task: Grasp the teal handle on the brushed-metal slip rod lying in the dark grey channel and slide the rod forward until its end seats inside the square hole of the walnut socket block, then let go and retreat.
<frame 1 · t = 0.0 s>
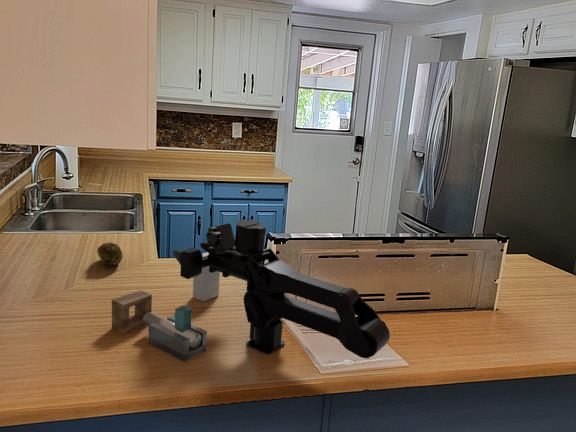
hand: (187, 248, 120), 17 cm above the countertop, tool horizontal, fingers open, 9 cm apart
socket block: (131, 325, 114), on the countertop
potato: (110, 265, 150), on the countertop
channel: (177, 347, 106), on the countertop
skincare box: (205, 297, 133), on the countertop
slip rod: (171, 319, 106), point 6 cm above the countertop, slide at 0.0 cm
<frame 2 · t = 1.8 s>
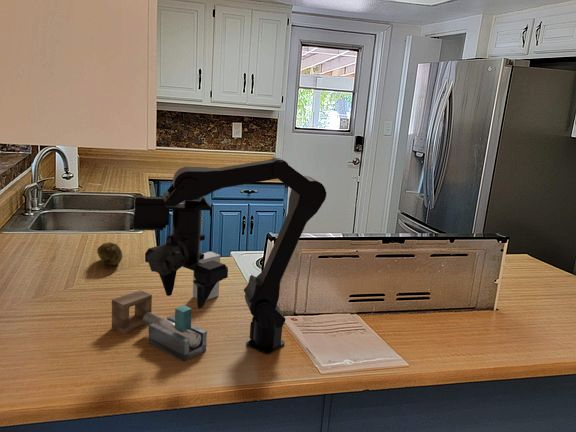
hand: (184, 301, 102), 11 cm above the countertop, tool pointing down, fingers open, 9 cm apart
nothing on the countertop moved.
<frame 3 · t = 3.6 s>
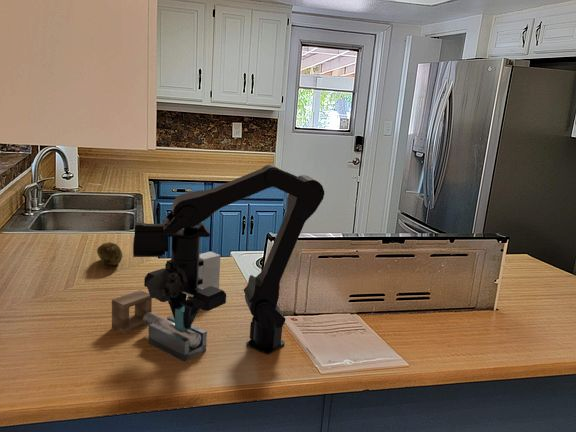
hand: (182, 325, 104), 6 cm above the countertop, tool pointing down, fingers closed on slip rod, 2 cm apart
slip rod: (171, 319, 106), point 6 cm above the countertop, slide at 0.0 cm, touching gripper
everything else where it was.
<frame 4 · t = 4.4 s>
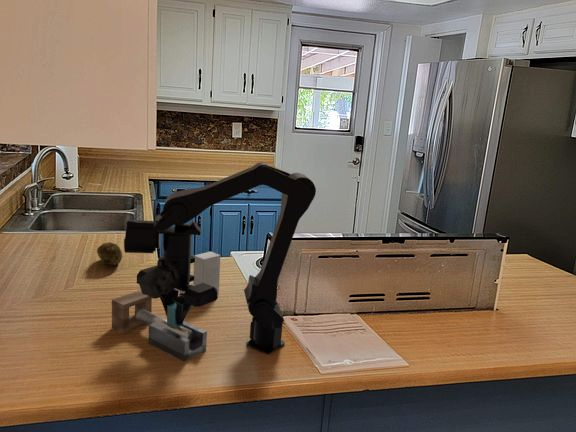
hand: (175, 322, 105), 6 cm above the countertop, tool pointing down, fingers closed on slip rod, 2 cm apart
slip rod: (163, 316, 107), point 6 cm above the countertop, slide at 2.4 cm, touching gripper
everything else where it was.
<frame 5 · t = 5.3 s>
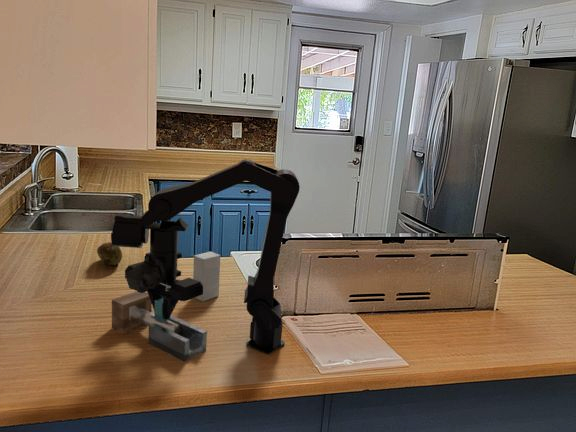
hand: (162, 316, 107), 6 cm above the countertop, tool pointing down, fingers closed on slip rod, 2 cm apart
slip rod: (151, 310, 109), point 6 cm above the countertop, slide at 6.4 cm, touching gripper
everything else where it was.
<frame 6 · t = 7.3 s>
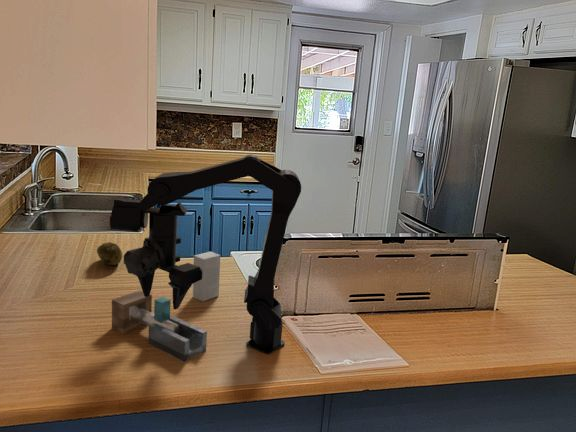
hand: (161, 302, 106), 9 cm above the countertop, tool pointing down, fingers open, 9 cm apart
slip rod: (151, 310, 109), point 6 cm above the countertop, slide at 6.4 cm
everything else where it was.
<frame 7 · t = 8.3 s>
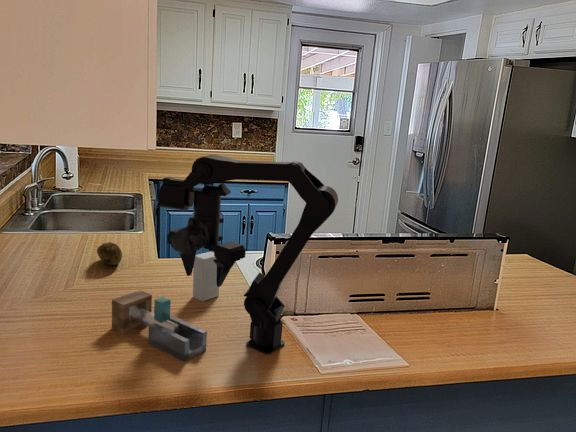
hand: (203, 280, 110), 13 cm above the countertop, tool pointing down, fingers open, 9 cm apart
nothing on the countertop moved.
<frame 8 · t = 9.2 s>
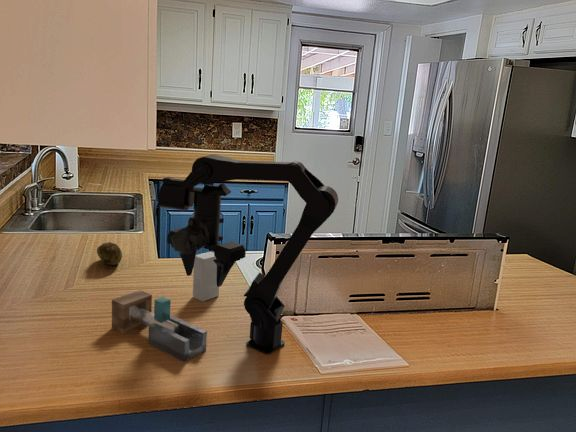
hand: (203, 280, 110), 13 cm above the countertop, tool pointing down, fingers open, 9 cm apart
nothing on the countertop moved.
at the end: slip rod 0.1 cm from the target spot, resting on channel; slip rod slide at 6.4 cm; the gripper is holding nothing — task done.
